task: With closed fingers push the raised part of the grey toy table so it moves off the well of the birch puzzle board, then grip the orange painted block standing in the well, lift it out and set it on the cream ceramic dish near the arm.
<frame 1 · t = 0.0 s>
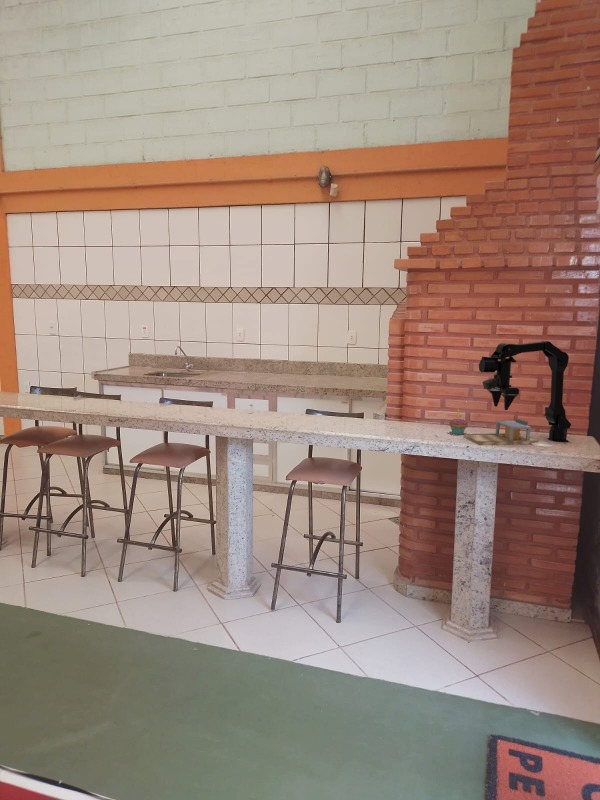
hand: (500, 408, 250), 15 cm above the countertop, fingers open, 9 cm apart
dish: (542, 445, 245), on the countertop
cupcake: (458, 434, 266), on the countertop
board: (511, 441, 253), on the countertop
grey toy table: (512, 428, 252), point 6 cm above the countertop, slide at 0.0 cm
block: (511, 440, 253), resting on board
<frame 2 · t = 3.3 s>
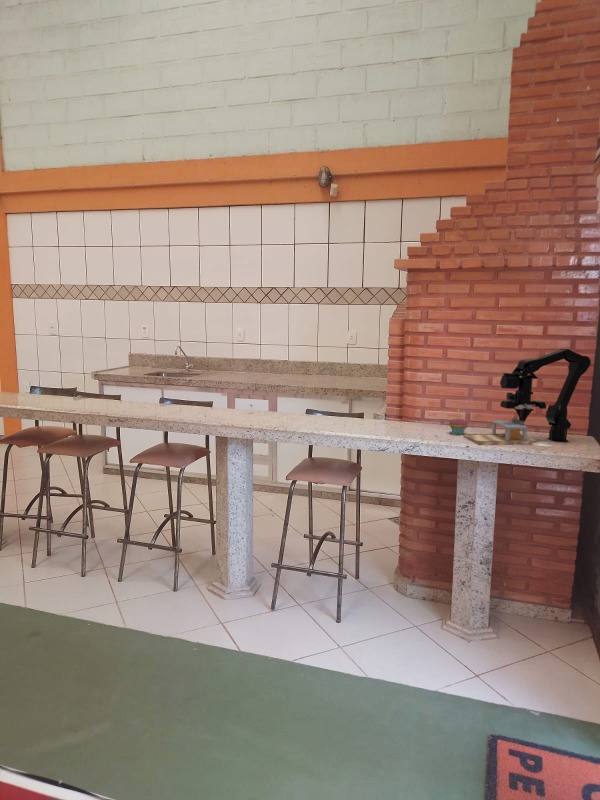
hand: (521, 423, 252), 8 cm above the countertop, fingers closed
grey toy table: (509, 428, 252), point 6 cm above the countertop, slide at 1.6 cm, touching gripper
everything else where it was.
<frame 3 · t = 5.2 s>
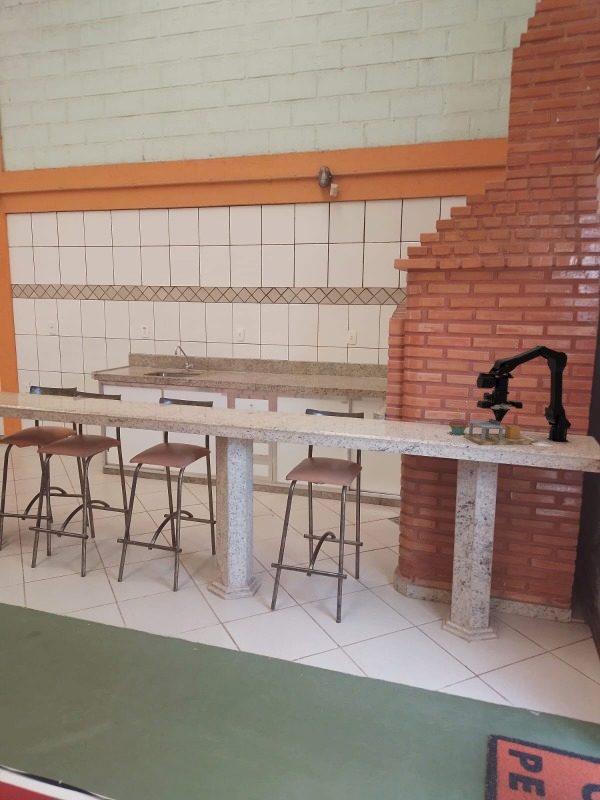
hand: (498, 424, 251), 8 cm above the countertop, fingers closed
grey toy table: (485, 428, 250), point 6 cm above the countertop, slide at 12.7 cm, touching gripper
everything else where it was.
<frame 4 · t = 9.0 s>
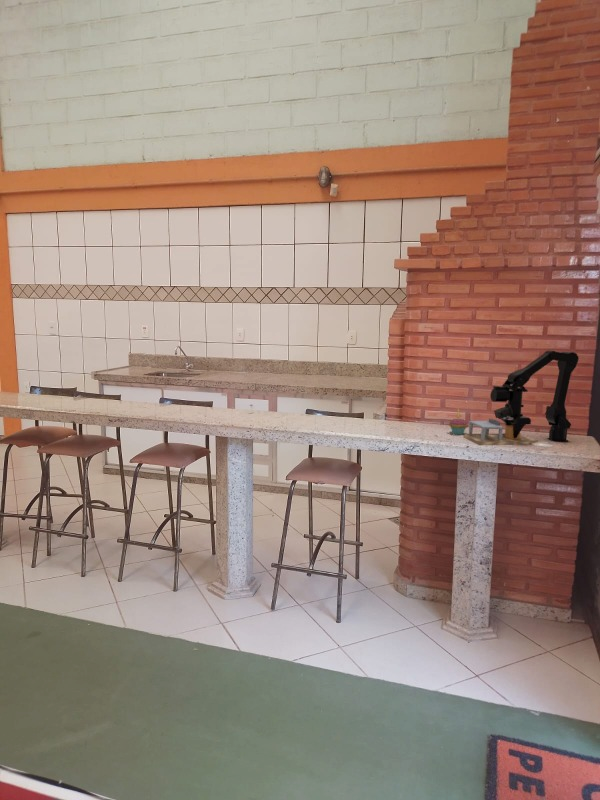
hand: (512, 436, 252), 2 cm above the countertop, fingers closed on block, 4 cm apart
grey toy table: (485, 428, 250), point 6 cm above the countertop, slide at 12.7 cm
block: (511, 440, 253), resting on board, touching gripper
everything else where it was.
when the fingers open (4 cm above the countertop, at t = 12.5 s): block stays where it is, resting on board, dish.
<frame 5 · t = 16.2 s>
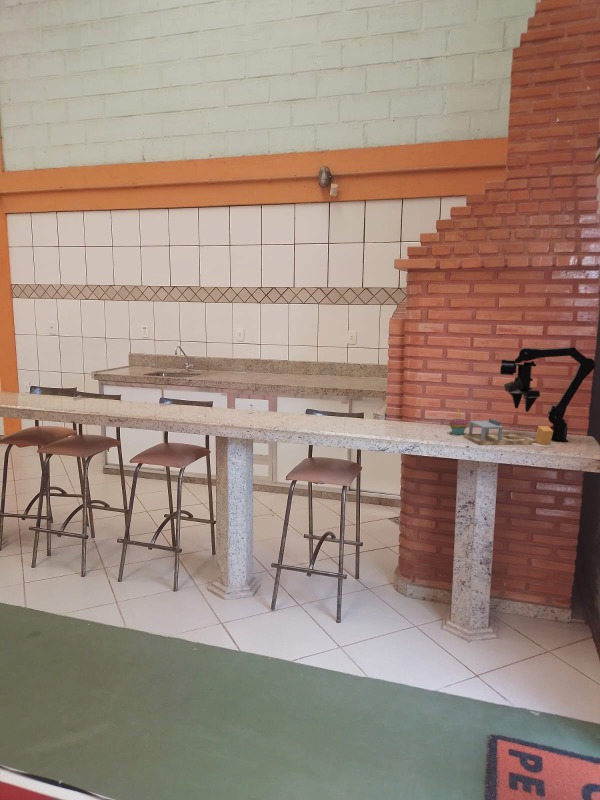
hand: (521, 410, 260), 12 cm above the countertop, fingers open, 9 cm apart
block: (542, 442, 245), point 1 cm above the countertop, tilted 16°, touching board, dish
everything else where it was.
at the end: grey toy table slide at 12.7 cm; block inside the target area on the dish (0.1 cm from its centre), point 1.4 cm above the dish's base; the gripper is holding nothing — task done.
